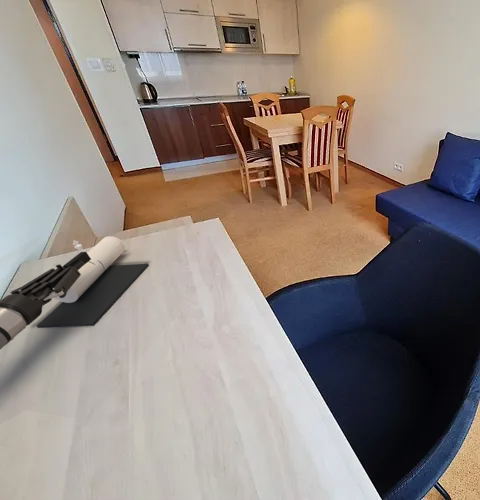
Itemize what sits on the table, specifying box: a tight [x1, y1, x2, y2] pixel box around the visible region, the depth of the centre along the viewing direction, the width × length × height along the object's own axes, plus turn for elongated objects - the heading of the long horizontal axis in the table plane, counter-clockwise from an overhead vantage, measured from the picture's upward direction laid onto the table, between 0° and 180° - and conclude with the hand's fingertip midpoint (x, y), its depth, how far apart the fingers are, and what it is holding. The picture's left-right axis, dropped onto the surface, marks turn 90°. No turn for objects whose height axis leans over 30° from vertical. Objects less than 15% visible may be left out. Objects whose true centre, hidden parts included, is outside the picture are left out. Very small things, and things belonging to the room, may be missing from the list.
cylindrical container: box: [54, 235, 126, 303], centre depth 96 cm, size 7×7×25 cm
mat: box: [35, 263, 150, 329], centre depth 91 cm, size 16×26×1 cm, turn 179°
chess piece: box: [72, 240, 87, 254], centre depth 102 cm, size 5×5×10 cm
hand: (86, 255), depth 88 cm, fingers closed
